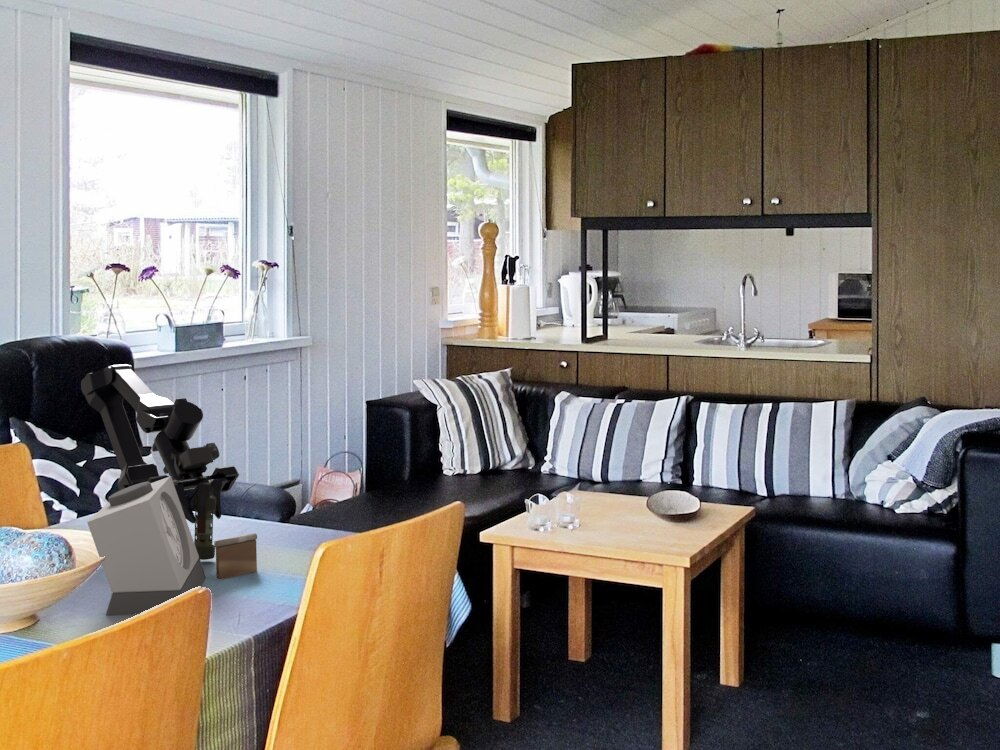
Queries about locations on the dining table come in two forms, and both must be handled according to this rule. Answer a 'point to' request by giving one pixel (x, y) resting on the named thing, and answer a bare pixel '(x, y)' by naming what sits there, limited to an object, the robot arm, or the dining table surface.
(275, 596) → the dining table surface
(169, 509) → the alarm clock
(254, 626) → the dining table surface
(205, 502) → the grenade
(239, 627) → the dining table surface
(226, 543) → the wooden panel
